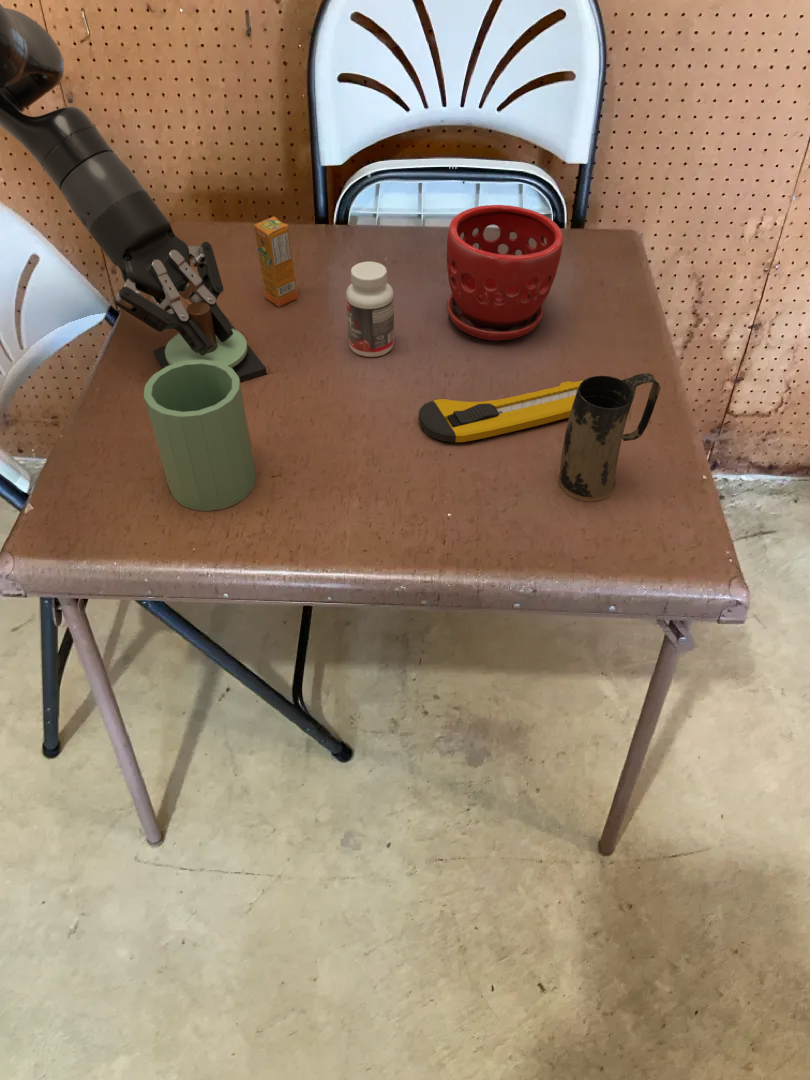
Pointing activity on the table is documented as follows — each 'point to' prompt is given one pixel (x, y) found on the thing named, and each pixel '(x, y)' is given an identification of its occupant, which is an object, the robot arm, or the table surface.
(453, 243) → the flower pot
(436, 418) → the utility knife
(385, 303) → the pill bottle
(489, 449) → the table surface
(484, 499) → the table surface
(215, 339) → the stopper
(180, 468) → the canister
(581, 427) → the mug
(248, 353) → the mat
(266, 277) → the supplement box
